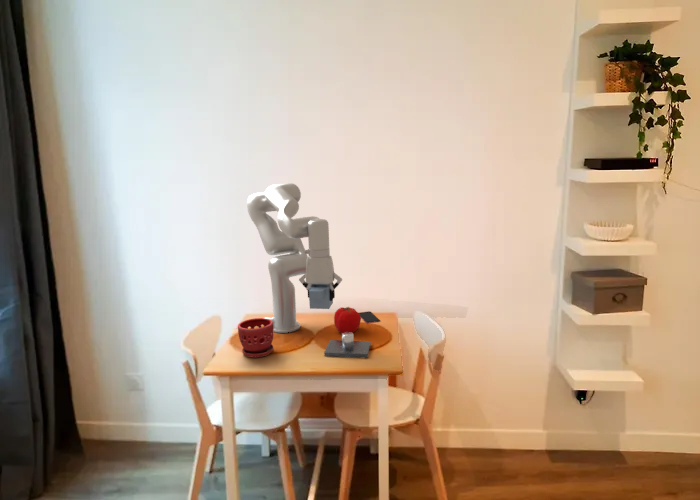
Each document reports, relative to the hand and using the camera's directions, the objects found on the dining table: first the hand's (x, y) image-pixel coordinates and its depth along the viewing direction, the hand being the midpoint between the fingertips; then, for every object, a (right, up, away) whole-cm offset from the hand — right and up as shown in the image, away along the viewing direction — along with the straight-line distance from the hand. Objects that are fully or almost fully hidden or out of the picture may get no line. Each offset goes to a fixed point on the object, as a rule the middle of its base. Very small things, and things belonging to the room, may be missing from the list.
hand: (321, 299), depth 190 cm
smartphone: (+19, -12, +39) cm, 45 cm away
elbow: (0, -3, -2) cm, 3 cm away
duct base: (+10, -20, +3) cm, 22 cm away
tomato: (+10, -16, +23) cm, 30 cm away
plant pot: (-24, -21, +3) cm, 32 cm away
